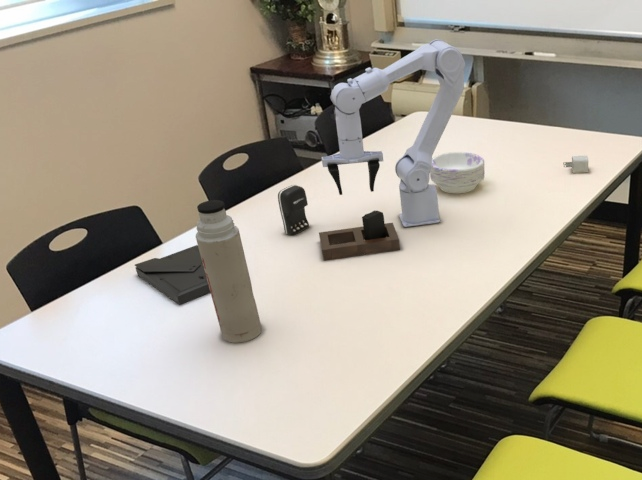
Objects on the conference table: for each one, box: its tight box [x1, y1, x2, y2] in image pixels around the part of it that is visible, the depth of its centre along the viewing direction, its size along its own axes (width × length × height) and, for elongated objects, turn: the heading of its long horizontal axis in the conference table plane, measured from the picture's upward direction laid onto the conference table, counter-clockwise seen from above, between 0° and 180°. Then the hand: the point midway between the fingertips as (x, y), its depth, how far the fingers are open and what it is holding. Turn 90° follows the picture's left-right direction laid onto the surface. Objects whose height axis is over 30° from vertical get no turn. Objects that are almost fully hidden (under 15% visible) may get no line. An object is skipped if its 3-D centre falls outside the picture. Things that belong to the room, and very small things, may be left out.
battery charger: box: [277, 184, 310, 236], centre depth 200 cm, size 7×4×11 cm, turn 146°
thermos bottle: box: [195, 199, 263, 344], centre depth 155 cm, size 8×8×28 cm
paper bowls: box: [430, 151, 486, 194], centre depth 221 cm, size 15×15×8 cm
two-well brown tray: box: [318, 222, 401, 261], centre depth 194 cm, size 18×10×3 cm, turn 104°
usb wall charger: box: [562, 155, 589, 174], centre depth 229 cm, size 4×7×4 cm, turn 89°
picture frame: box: [134, 244, 211, 305], centre depth 184 cm, size 16×3×21 cm
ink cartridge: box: [361, 210, 386, 240], centre depth 193 cm, size 5×2×8 cm, turn 137°
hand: (356, 191), depth 196 cm, fingers open, 7 cm apart
